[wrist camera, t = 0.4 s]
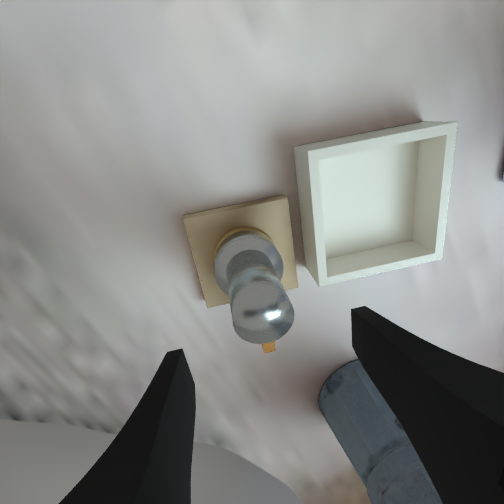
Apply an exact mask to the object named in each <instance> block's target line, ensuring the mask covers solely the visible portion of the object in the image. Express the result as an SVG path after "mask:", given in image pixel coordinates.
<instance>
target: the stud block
mask: <svg viewBox="0 0 504 504" xmlns="http://www.w3.org/2000/svg"><path fill="white" fill-rule="evenodd" d="M183 223H184V226H185V230H186V233H187V237H188V240H189V244H190V248H191V251H192V255H193V258H194V262H195V265H196V269H197V272H198V276H199V280H200V283H201V287H202V290H203V294H204V297H205V301H206V305H207V308H210V307H214V306H219V305H223V304H228V303H230V299H229V296H228V295H226V294H225V293H224V292H223V291H222V290H221V289H220V288H219V286H218V284H217V282H216V279H215V270H214V256H215V253H216V250H217V248H218V247H219V245H220V244H221V243H222V241H223V240H225V239H226V238H227V237H228V236H230V235H232V234H234V233H237V232H240V231H256V232H259V233H262V234H264V235H266V236H267V237H268V238H270V239H271V240H272V242H273V243H274V244H275V246H276V248H277V250H278V252H279V253H280V255H281V257H282V260H283V265H284V270H283V276H282V279H281V283H282V285H283V287H284V290H290V289H294V288H298V280H297V272H296V263H295V255H294V246H293V238H292V230H291V221H290V213H289V205H288V198H287V197H286V196H285V195H280V196H275V197H271V198H266V199H261V200H256V201H251V202H246V203H241V204H236V205H232V206H227V207H222V208H217V209H212V210H207V211H202V212H197V213H193V214H188V215H184V216H183Z"/></svg>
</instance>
